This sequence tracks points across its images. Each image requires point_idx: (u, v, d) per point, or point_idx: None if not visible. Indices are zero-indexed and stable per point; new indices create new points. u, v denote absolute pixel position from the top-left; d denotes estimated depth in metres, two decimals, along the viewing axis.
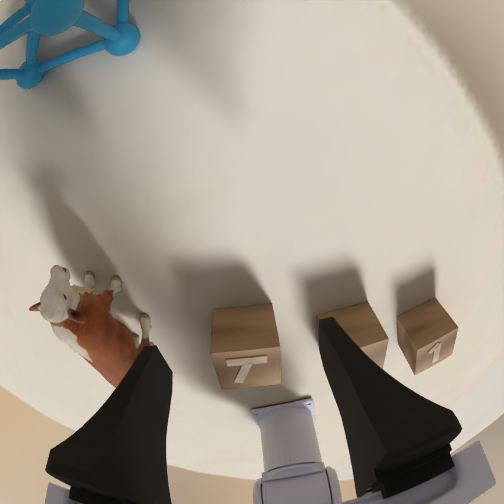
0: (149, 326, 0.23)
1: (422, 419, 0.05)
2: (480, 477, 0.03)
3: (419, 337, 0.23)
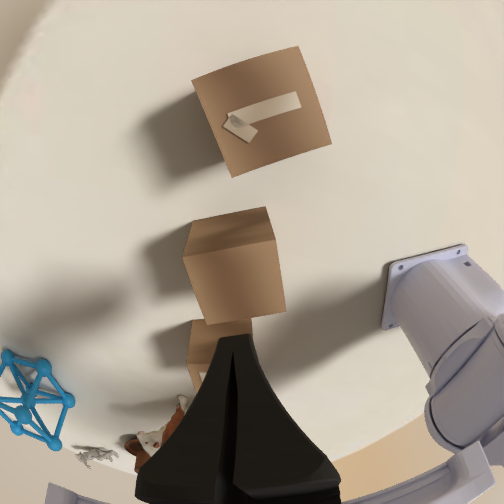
0: None
1: (287, 458, 0.05)
2: (480, 477, 0.03)
3: None
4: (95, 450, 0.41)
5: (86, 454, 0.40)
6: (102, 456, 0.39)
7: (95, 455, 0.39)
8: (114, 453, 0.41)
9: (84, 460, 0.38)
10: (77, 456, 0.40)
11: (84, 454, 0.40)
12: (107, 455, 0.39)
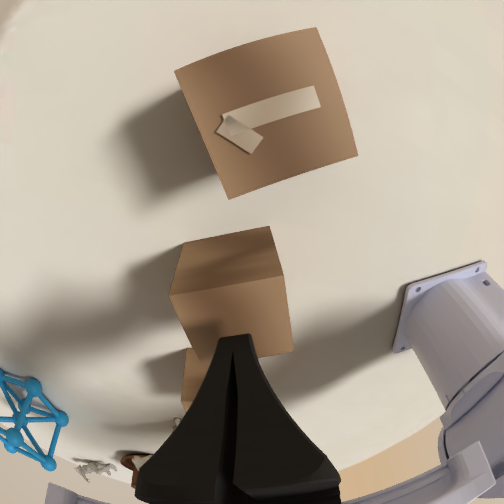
0: None
1: (287, 458, 0.05)
2: (480, 477, 0.03)
3: None
4: (93, 463, 0.38)
5: (85, 467, 0.37)
6: (100, 470, 0.36)
7: (93, 469, 0.37)
8: (112, 466, 0.38)
9: (83, 474, 0.35)
10: (76, 469, 0.37)
11: (83, 467, 0.37)
12: (105, 469, 0.36)
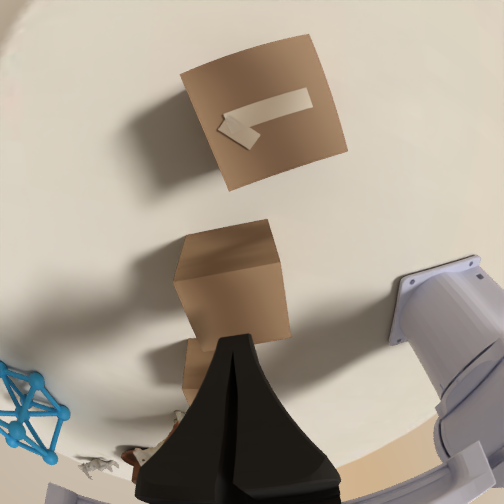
0: None
1: (287, 458, 0.05)
2: (480, 477, 0.03)
3: None
4: (96, 461, 0.39)
5: (88, 465, 0.39)
6: (102, 466, 0.37)
7: (96, 466, 0.38)
8: (114, 463, 0.39)
9: (86, 471, 0.36)
10: (80, 467, 0.39)
11: (86, 465, 0.39)
12: (107, 465, 0.37)
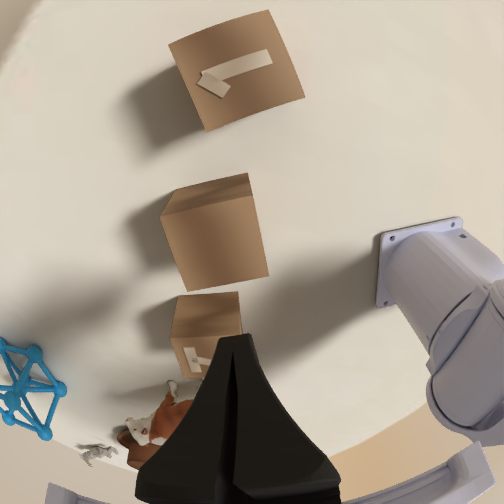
0: None
1: (287, 458, 0.05)
2: (480, 477, 0.03)
3: None
4: (96, 448, 0.41)
5: (88, 453, 0.41)
6: (101, 453, 0.39)
7: (95, 453, 0.40)
8: (113, 449, 0.41)
9: (86, 459, 0.39)
10: (81, 456, 0.41)
11: (87, 453, 0.41)
12: (105, 451, 0.39)
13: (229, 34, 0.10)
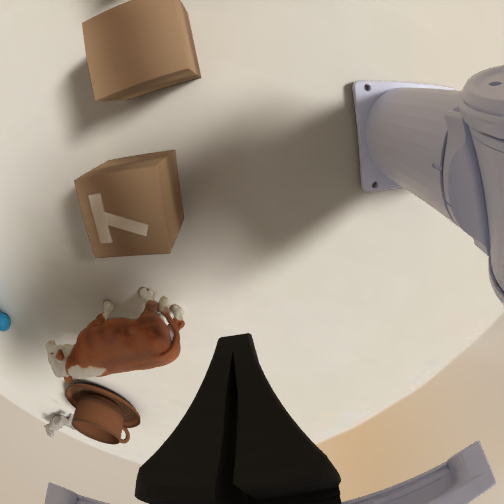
0: (146, 292, 0.22)
1: (287, 458, 0.05)
2: (480, 477, 0.03)
3: None
4: (58, 416, 0.37)
5: (51, 422, 0.36)
6: (60, 420, 0.34)
7: (56, 421, 0.35)
8: None
9: (47, 428, 0.34)
10: None
11: (50, 423, 0.36)
12: (63, 418, 0.34)
13: None
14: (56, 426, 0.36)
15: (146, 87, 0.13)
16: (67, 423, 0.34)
